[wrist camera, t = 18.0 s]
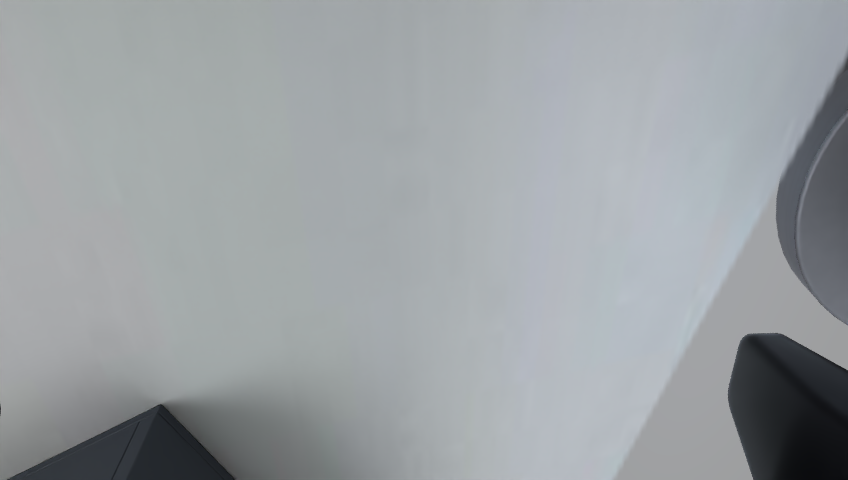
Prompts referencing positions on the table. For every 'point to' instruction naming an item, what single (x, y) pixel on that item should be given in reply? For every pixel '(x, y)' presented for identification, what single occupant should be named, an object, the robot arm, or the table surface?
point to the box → (134, 454)
